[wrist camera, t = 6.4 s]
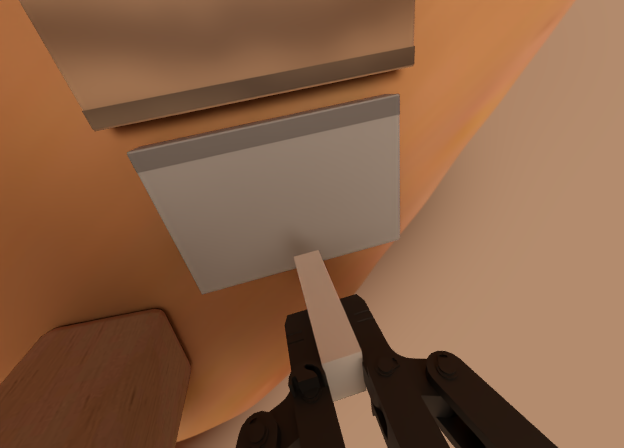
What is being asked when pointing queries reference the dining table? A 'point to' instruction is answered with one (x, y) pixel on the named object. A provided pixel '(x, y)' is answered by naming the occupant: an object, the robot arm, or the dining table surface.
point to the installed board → (214, 50)
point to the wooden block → (98, 386)
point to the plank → (278, 189)
